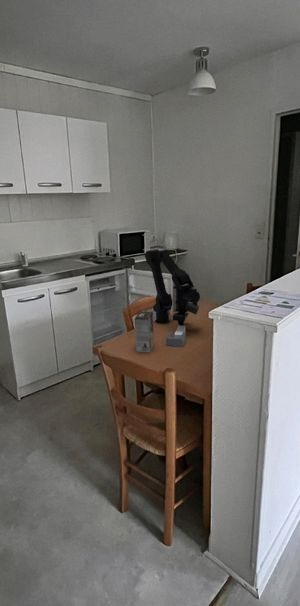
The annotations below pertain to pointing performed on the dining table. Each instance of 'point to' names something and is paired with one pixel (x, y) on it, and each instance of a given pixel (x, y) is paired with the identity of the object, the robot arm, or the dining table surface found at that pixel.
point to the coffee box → (144, 331)
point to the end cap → (175, 340)
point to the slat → (179, 331)
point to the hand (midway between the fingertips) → (181, 327)
